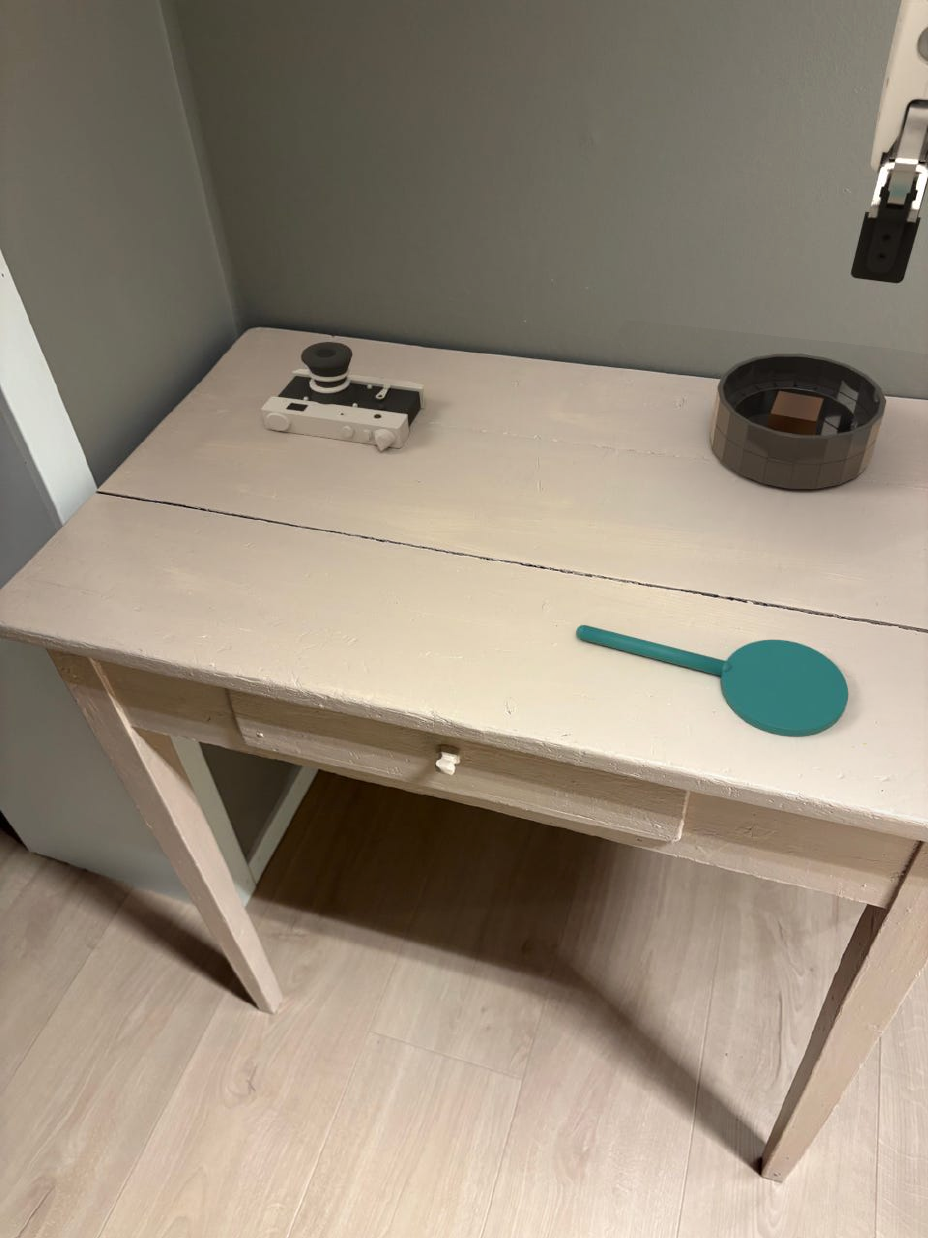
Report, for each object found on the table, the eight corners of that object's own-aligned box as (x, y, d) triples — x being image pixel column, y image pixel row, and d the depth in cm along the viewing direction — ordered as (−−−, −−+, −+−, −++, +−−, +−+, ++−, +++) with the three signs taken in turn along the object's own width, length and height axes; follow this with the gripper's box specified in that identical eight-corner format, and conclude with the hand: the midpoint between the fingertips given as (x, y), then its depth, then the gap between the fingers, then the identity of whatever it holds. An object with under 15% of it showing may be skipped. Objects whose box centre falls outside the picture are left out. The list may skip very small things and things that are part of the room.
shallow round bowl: (877, 421, 96) (893, 367, 92) (859, 507, 87) (875, 451, 82) (727, 395, 101) (736, 343, 97) (694, 474, 91) (702, 420, 87)
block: (814, 435, 94) (823, 398, 91) (807, 458, 91) (816, 420, 88) (771, 427, 95) (778, 390, 93) (762, 450, 93) (770, 412, 90)
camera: (424, 343, 98) (389, 393, 91) (428, 403, 103) (396, 455, 96) (288, 328, 102) (244, 374, 95) (298, 386, 106) (258, 435, 100)
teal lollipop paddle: (853, 664, 73) (857, 653, 72) (836, 751, 67) (840, 740, 66) (593, 599, 79) (594, 589, 79) (557, 674, 74) (558, 663, 73)
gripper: (1040, -23, 46) (934, 313, 58) (1040, -86, 57) (952, 206, 69) (875, -28, 48) (806, 296, 60) (907, -88, 59) (843, 195, 71)
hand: (884, 248), depth 65 cm, fingers open, 9 cm apart
